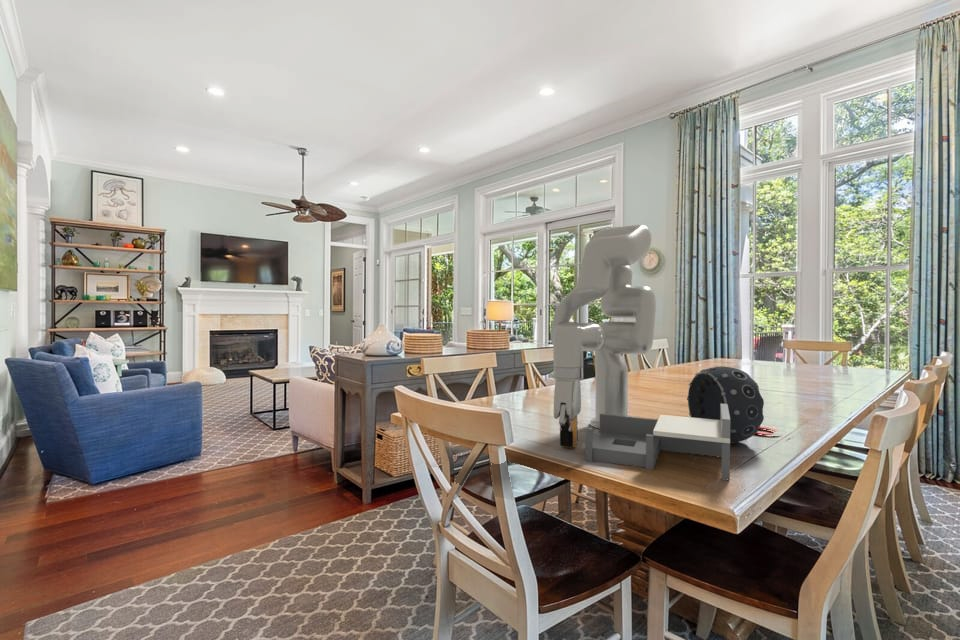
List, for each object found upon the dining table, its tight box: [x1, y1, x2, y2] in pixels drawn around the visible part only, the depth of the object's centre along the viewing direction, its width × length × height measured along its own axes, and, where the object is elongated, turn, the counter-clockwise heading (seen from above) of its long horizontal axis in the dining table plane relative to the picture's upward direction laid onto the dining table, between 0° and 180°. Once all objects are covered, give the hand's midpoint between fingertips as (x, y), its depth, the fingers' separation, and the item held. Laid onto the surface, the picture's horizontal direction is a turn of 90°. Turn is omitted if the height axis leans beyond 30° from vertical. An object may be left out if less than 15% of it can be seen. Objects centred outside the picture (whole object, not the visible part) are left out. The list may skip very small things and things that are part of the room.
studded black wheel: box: [686, 365, 765, 444], centre depth 126 cm, size 11×20×20 cm, turn 6°
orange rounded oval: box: [563, 416, 578, 448], centre depth 121 cm, size 4×4×7 cm
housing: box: [584, 414, 731, 481], centre depth 112 cm, size 17×30×8 cm, turn 64°
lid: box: [653, 403, 731, 444], centre depth 108 cm, size 17×15×5 cm
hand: (569, 442), depth 122 cm, fingers closed on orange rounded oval, 4 cm apart
